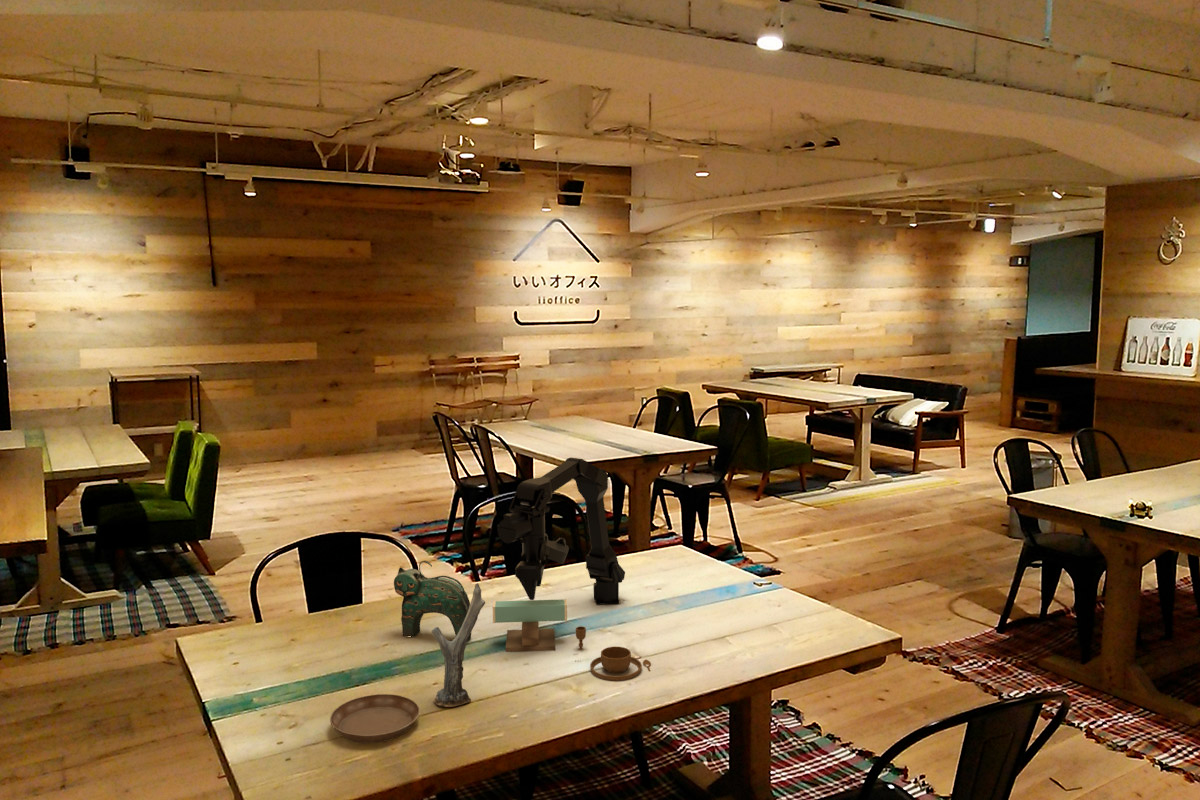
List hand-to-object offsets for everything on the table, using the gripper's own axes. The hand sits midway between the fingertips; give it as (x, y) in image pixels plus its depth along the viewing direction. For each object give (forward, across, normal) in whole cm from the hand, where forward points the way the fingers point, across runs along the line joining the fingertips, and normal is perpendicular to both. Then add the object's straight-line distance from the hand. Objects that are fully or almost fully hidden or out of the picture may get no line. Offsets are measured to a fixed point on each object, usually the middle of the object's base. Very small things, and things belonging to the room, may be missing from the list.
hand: (535, 592), depth 229 cm
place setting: (+13, -12, -20) cm, 27 cm away
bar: (+6, -2, +1) cm, 6 cm away
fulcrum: (+12, -2, +1) cm, 12 cm away
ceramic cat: (+12, -1, +26) cm, 28 cm away
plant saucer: (+12, -47, +25) cm, 54 cm away
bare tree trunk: (+12, -33, +11) cm, 37 cm away
